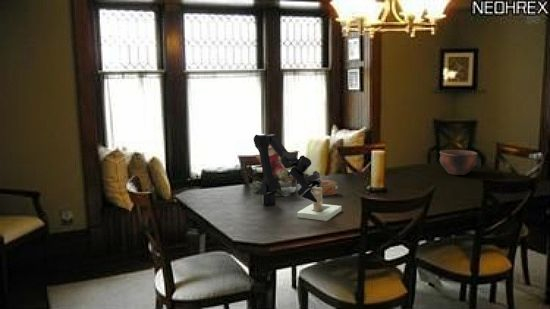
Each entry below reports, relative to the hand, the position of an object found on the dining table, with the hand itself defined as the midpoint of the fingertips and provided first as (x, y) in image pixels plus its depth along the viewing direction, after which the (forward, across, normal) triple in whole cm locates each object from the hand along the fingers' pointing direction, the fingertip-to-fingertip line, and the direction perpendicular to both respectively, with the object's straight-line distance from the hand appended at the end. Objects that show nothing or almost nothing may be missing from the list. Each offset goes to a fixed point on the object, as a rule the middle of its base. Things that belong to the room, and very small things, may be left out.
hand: (320, 199), depth 268 cm
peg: (+5, 0, +7) cm, 8 cm away
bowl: (+38, +131, -26) cm, 139 cm away
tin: (-4, +42, +16) cm, 45 cm away
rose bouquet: (-26, +38, +38) cm, 60 cm away
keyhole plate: (+5, +2, +7) cm, 8 cm away
